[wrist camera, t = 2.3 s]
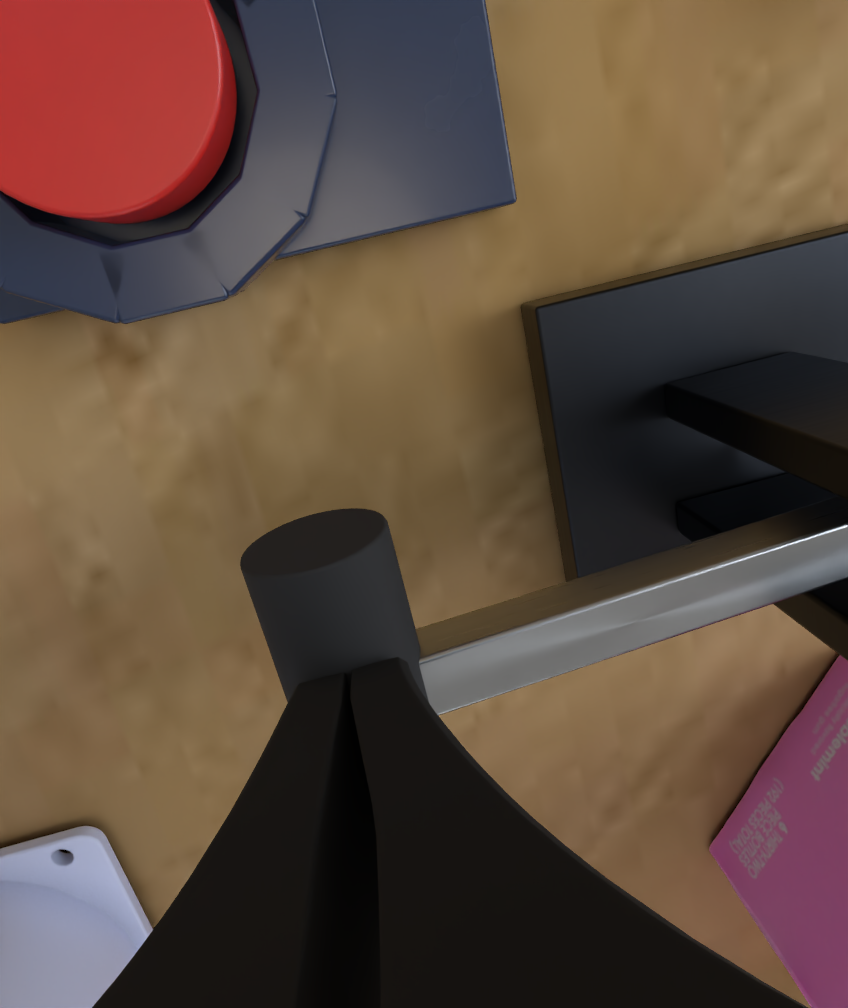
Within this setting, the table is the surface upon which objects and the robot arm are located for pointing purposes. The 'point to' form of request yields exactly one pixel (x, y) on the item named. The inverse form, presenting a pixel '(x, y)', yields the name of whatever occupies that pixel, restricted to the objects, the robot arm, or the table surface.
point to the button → (112, 105)
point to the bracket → (698, 405)
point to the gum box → (799, 845)
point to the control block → (292, 160)
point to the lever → (517, 602)
